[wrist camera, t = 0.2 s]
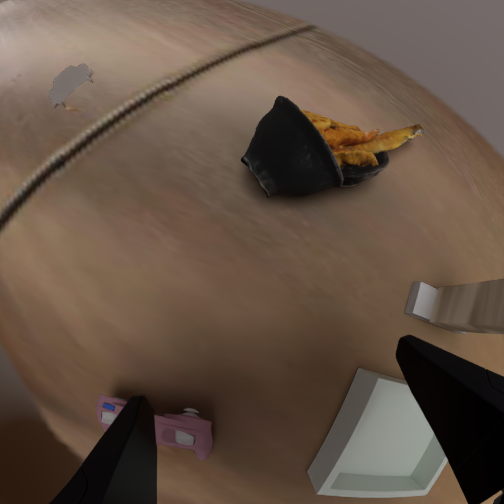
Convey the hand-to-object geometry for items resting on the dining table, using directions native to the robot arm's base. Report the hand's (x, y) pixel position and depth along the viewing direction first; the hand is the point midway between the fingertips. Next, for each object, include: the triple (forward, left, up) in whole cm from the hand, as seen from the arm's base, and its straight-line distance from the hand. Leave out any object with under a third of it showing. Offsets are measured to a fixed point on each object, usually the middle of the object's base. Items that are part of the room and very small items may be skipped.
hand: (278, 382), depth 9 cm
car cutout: (+35, +3, -16) cm, 39 cm away
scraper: (-12, -14, -15) cm, 24 cm away
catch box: (-18, -2, -15) cm, 23 cm away
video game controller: (-1, +12, -15) cm, 19 cm away
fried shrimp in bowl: (+6, -16, -15) cm, 23 cm away
